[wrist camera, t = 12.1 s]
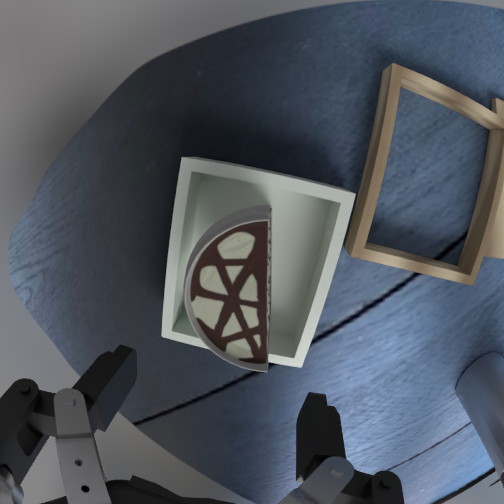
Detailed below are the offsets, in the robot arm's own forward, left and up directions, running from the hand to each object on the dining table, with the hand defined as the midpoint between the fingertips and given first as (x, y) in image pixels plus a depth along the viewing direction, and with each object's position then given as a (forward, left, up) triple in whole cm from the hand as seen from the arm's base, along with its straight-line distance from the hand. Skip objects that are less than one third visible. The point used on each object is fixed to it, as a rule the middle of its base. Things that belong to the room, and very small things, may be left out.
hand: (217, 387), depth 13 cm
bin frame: (-16, -12, -18) cm, 27 cm away
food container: (+1, 0, -18) cm, 18 cm away
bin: (0, 0, -18) cm, 18 cm away
